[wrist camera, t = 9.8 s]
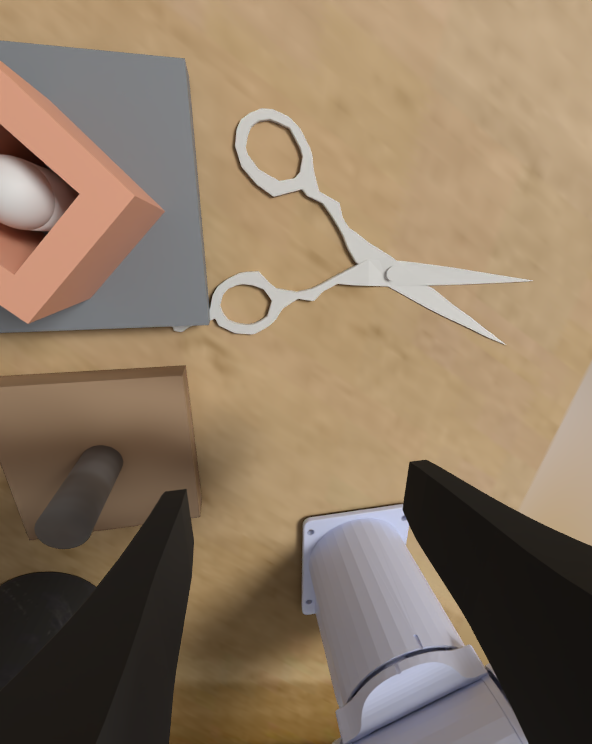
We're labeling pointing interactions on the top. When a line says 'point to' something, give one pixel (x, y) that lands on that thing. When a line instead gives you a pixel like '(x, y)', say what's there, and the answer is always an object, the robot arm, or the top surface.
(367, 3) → the top surface
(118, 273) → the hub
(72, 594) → the travel mug
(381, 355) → the top surface
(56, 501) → the stand
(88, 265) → the collar
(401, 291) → the scissors
